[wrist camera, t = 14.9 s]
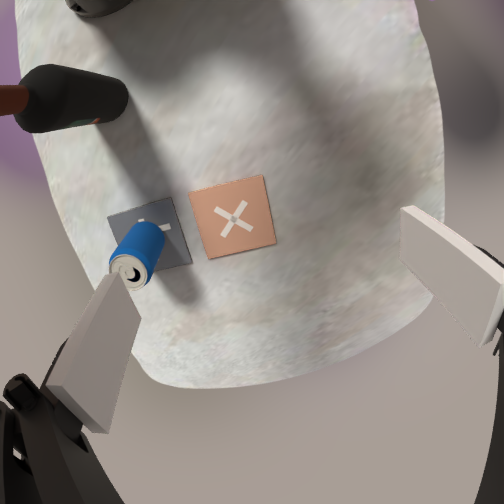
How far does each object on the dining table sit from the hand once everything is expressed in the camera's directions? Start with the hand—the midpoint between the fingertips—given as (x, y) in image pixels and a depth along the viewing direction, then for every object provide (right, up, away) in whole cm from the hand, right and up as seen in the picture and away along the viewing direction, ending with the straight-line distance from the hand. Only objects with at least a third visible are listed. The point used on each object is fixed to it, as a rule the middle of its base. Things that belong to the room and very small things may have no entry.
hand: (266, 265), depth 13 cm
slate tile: (-18, +3, +36) cm, 40 cm away
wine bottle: (-23, +25, +25) cm, 42 cm away
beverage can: (-18, +3, +35) cm, 40 cm away
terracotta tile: (-4, +6, +36) cm, 36 cm away
